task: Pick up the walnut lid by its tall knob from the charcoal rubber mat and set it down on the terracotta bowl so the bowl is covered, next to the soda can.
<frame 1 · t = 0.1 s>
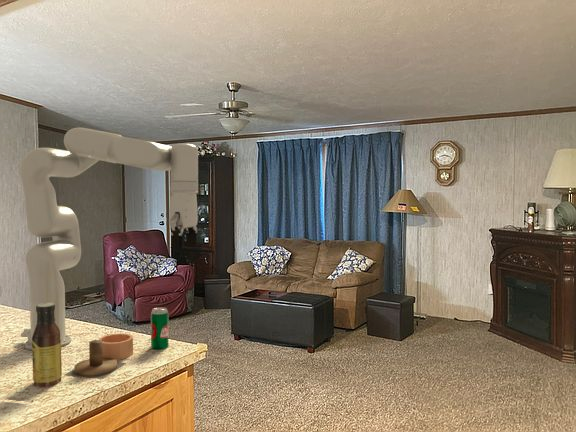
hand: (184, 248, 133), 31 cm above the counter, tool pointing down, fingers open, 9 cm apart
mat: (96, 370, 122), on the counter
bowl: (116, 356, 133), on the counter
sauce bottle: (47, 385, 113), on the counter
lid: (96, 368, 122), resting on mat
soda can: (159, 349, 140), on the counter
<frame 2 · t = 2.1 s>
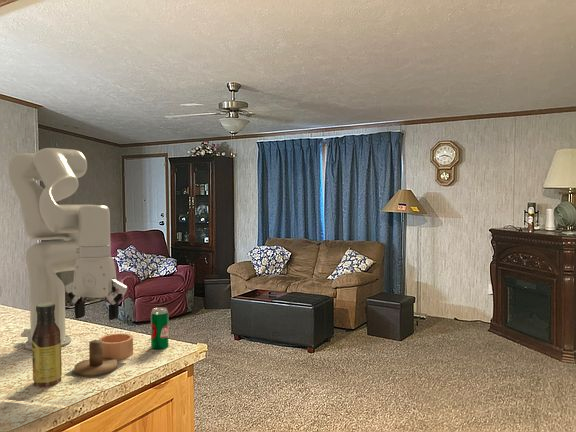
hand: (96, 318, 121), 14 cm above the counter, tool pointing down, fingers open, 9 cm apart
nothing on the counter moved.
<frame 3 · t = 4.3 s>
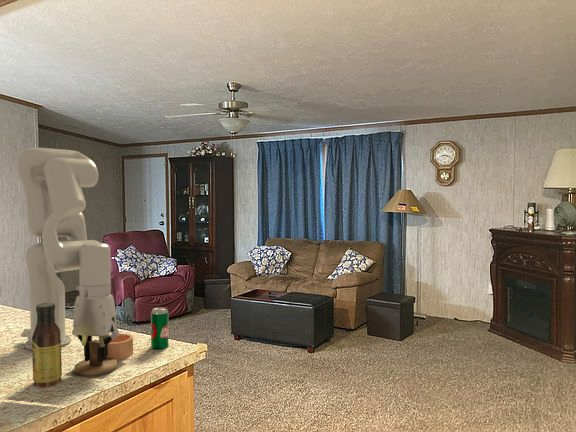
hand: (96, 359, 122), 3 cm above the counter, tool pointing down, fingers closed on lid, 3 cm apart
lid: (96, 368, 122), resting on mat, touching gripper
everything else where it was.
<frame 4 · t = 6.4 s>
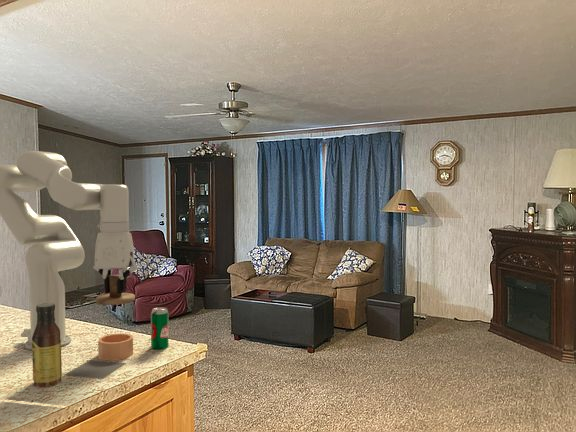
hand: (115, 291, 132), 19 cm above the counter, tool pointing down, fingers closed on lid, 3 cm apart
lid: (115, 300, 133), point 16 cm above the counter, touching gripper
everything else where it was.
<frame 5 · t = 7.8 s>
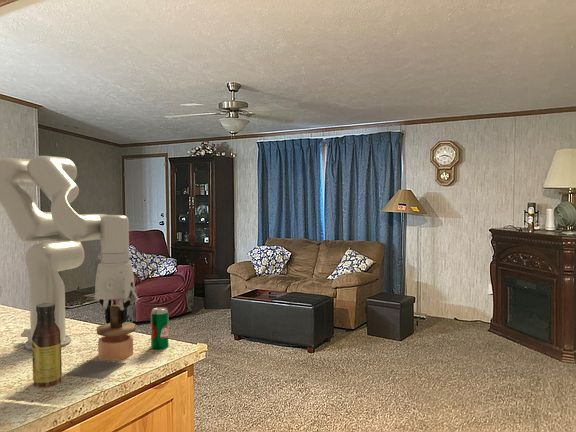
hand: (116, 322, 133), 10 cm above the counter, tool pointing down, fingers closed on lid, 3 cm apart
lid: (116, 330, 133), point 7 cm above the counter, touching gripper
everything else where it was.
when the fingers open (9 cm above the counter, at t = 8.7 s): lid drops 1 cm, resting on bowl.
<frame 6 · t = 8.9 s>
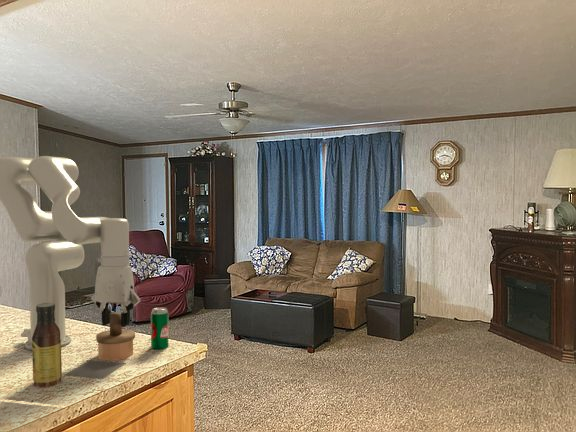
hand: (115, 324, 133), 9 cm above the counter, tool pointing down, fingers open, 5 cm apart
lid: (115, 338, 133), point 5 cm above the counter, touching bowl
everything else where it was.
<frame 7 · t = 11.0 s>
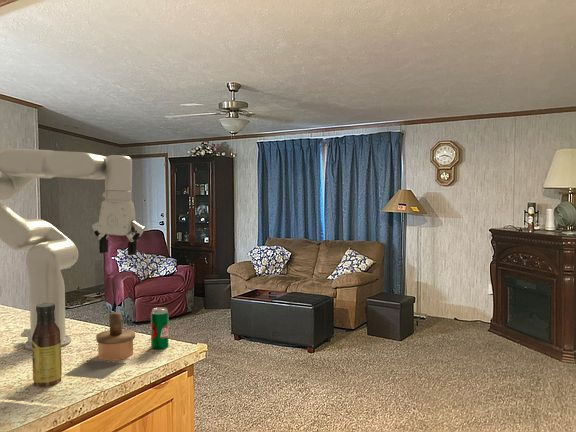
hand: (117, 253, 140), 28 cm above the counter, tool pointing down, fingers open, 9 cm apart
nothing on the counter moved.
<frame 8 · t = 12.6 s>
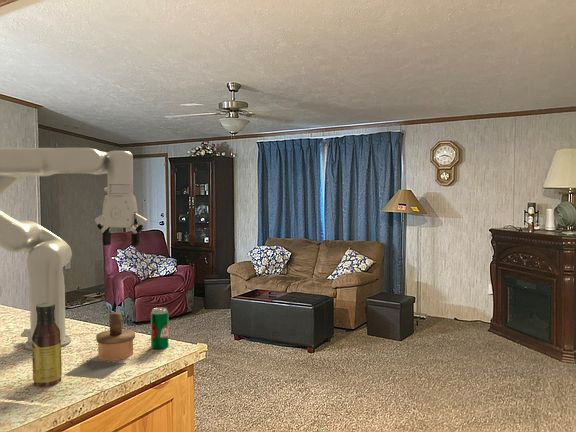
hand: (120, 245, 146), 30 cm above the counter, tool pointing down, fingers open, 9 cm apart
nothing on the counter moved.
at the end: lid 0.0 cm off-centre on the bowl, point 5.2 cm above the bowl's base; lid tilted 0°; the gripper is holding nothing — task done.
